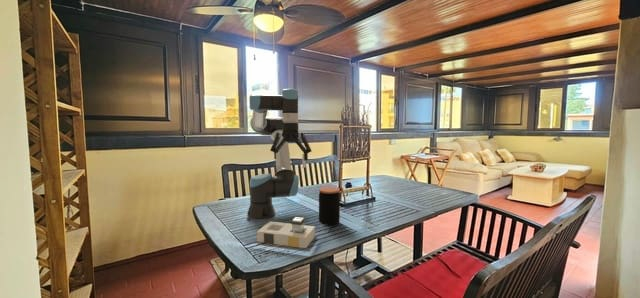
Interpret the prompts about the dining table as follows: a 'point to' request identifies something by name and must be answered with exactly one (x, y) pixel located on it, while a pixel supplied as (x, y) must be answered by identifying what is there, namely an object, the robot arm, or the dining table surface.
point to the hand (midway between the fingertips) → (290, 166)
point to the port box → (285, 235)
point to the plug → (298, 225)
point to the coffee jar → (329, 205)
